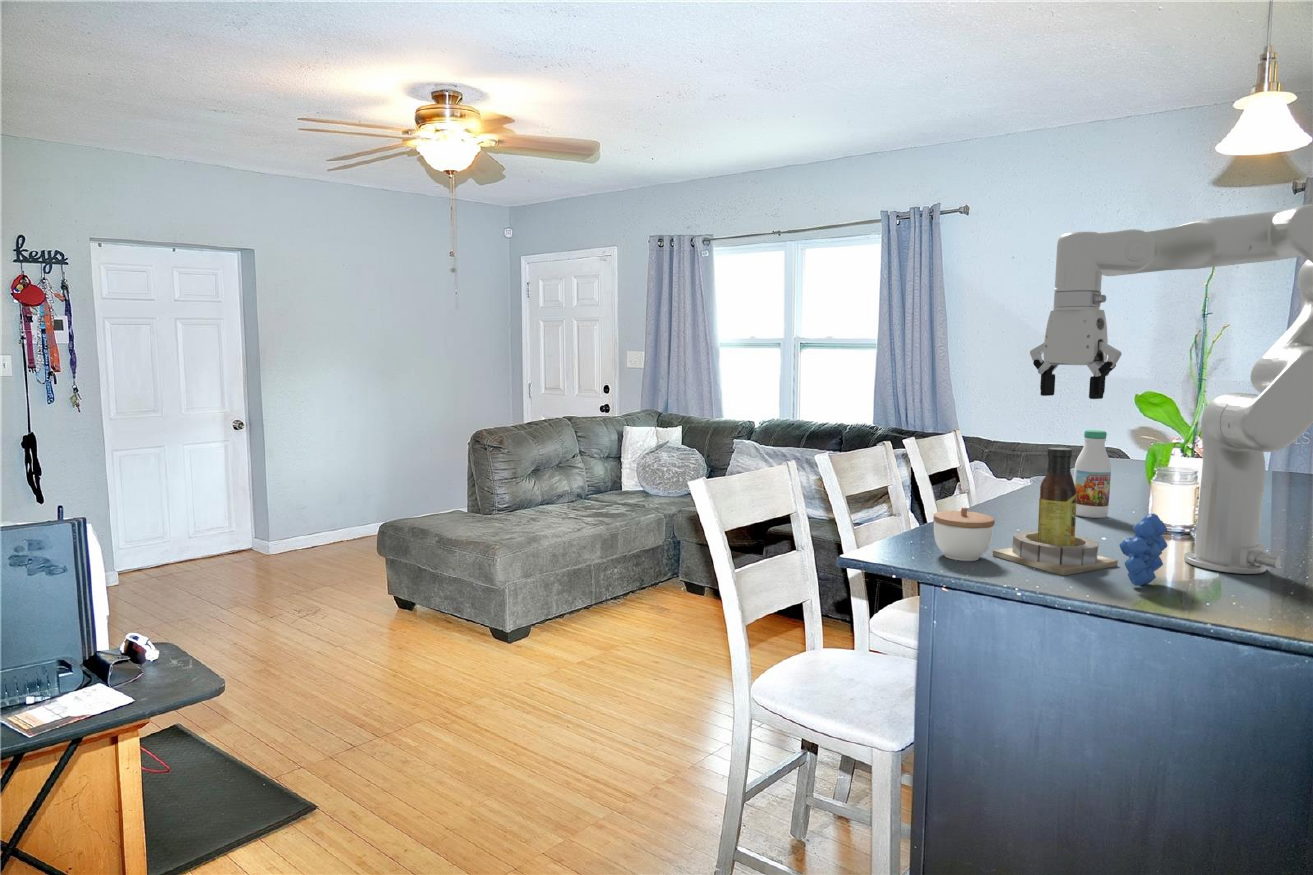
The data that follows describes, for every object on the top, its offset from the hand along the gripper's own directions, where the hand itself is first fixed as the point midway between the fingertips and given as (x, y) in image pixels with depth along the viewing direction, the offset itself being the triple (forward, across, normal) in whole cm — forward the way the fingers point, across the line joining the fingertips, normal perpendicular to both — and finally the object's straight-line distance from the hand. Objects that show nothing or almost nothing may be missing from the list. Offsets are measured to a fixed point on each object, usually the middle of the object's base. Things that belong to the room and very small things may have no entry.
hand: (1070, 397), depth 156 cm
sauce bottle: (+29, 0, +2) cm, 29 cm away
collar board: (+30, 0, +3) cm, 30 cm away
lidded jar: (+30, +9, +16) cm, 36 cm away
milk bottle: (+31, +23, -43) cm, 57 cm away
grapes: (+31, -16, +3) cm, 35 cm away
